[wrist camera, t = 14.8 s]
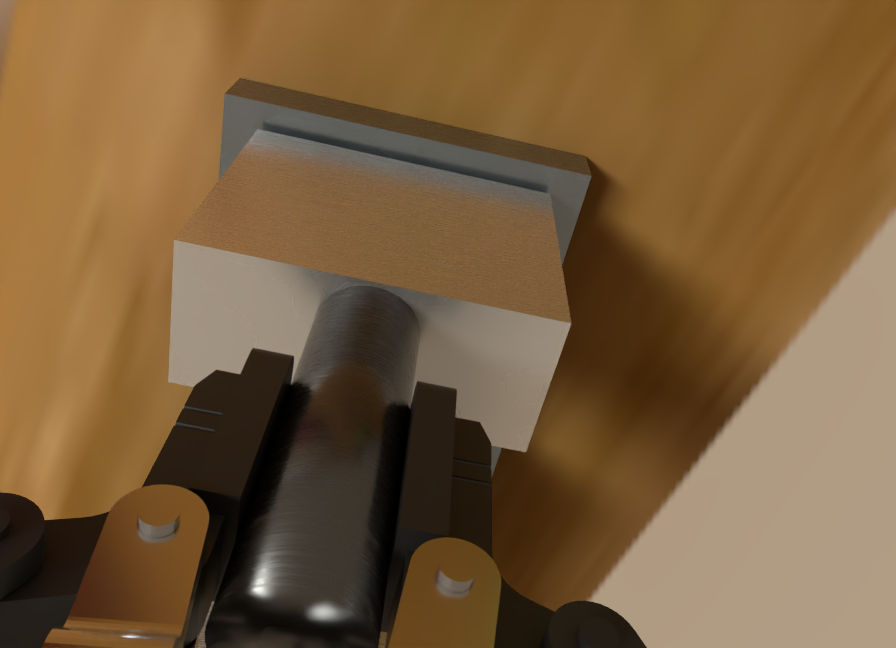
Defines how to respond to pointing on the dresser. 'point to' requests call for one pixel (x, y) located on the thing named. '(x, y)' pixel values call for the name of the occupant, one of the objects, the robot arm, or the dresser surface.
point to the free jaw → (356, 356)
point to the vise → (405, 151)
